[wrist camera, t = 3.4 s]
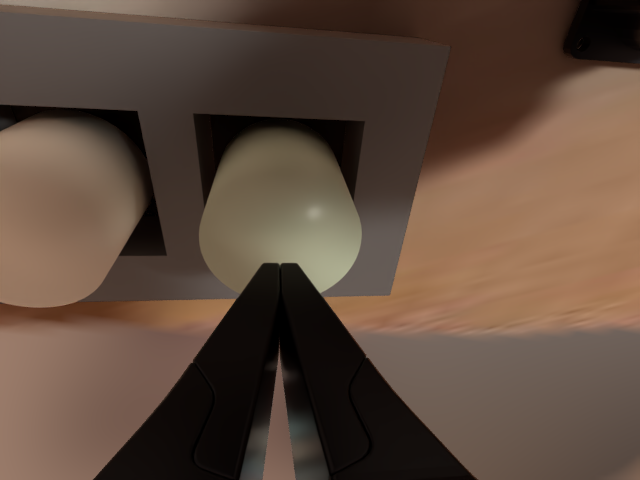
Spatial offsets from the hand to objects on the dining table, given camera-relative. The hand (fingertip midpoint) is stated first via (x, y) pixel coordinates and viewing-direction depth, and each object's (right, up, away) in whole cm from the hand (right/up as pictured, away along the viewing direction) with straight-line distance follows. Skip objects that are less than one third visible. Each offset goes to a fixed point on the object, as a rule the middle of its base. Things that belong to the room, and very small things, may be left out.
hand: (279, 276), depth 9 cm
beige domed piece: (-8, +3, +4) cm, 9 cm away
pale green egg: (-1, +3, +5) cm, 6 cm away
